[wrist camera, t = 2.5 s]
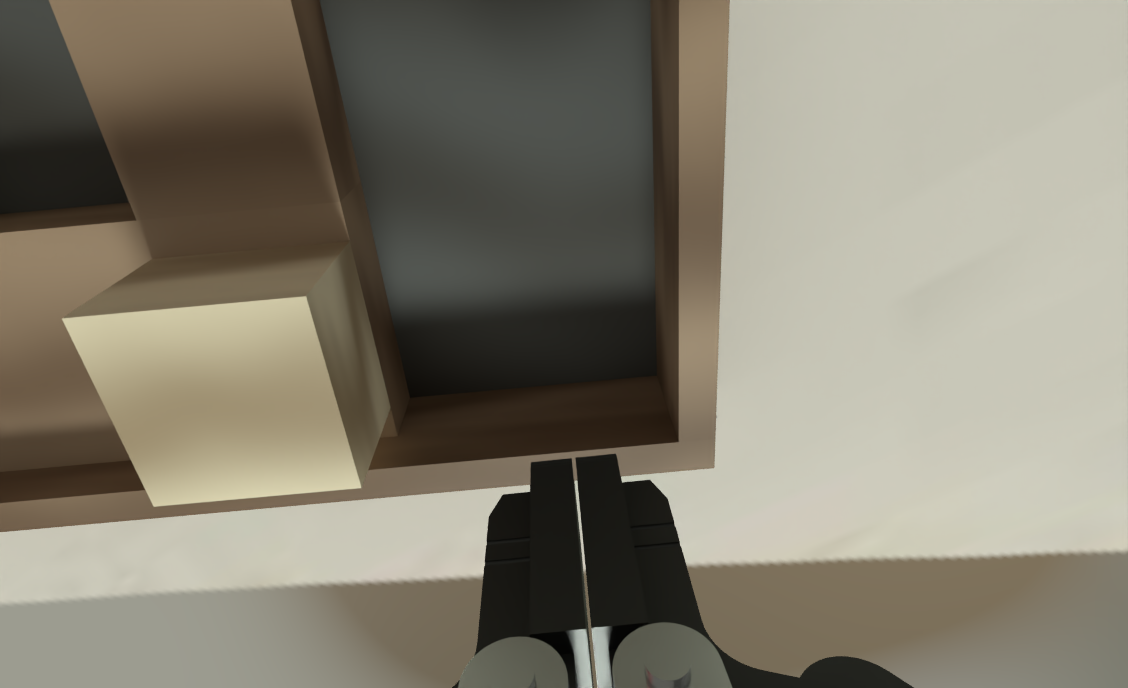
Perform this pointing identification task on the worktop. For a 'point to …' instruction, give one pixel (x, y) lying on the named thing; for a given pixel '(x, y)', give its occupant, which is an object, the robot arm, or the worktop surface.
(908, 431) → the worktop surface
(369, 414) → the birch block
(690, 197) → the channel
